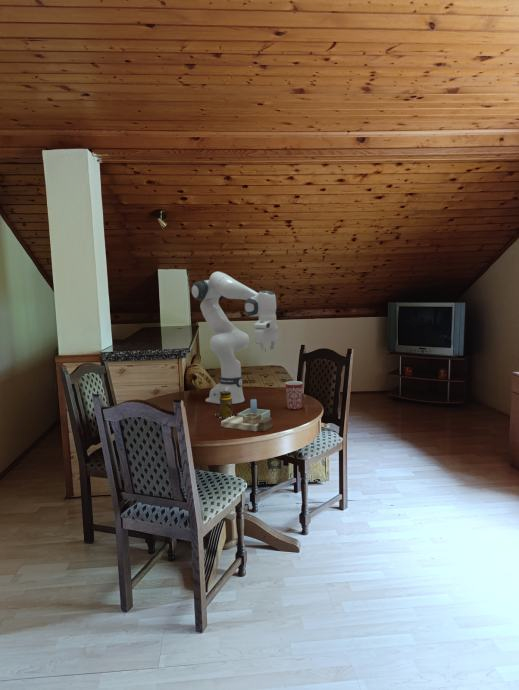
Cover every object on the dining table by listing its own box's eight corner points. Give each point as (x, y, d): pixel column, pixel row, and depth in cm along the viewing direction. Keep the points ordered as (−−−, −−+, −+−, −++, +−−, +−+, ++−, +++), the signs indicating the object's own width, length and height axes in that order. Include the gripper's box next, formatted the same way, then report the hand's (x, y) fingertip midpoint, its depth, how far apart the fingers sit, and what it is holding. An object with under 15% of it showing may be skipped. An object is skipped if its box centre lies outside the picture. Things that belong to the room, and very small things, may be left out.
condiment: (234, 416, 226) (233, 393, 225) (217, 418, 224) (216, 394, 223) (231, 413, 233) (230, 390, 232) (215, 414, 231) (214, 391, 230)
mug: (303, 410, 235) (303, 384, 233) (285, 410, 236) (285, 384, 234) (302, 404, 248) (302, 379, 246) (285, 404, 248) (285, 379, 246)
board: (221, 426, 210) (220, 415, 209) (232, 421, 219) (231, 409, 218) (256, 431, 201) (255, 419, 201) (266, 425, 210) (265, 413, 210)
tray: (237, 421, 218) (237, 413, 218) (249, 415, 228) (249, 408, 228) (259, 423, 213) (259, 416, 212) (270, 417, 223) (270, 410, 223)
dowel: (249, 418, 220) (249, 400, 219) (252, 417, 222) (252, 398, 221) (255, 419, 218) (254, 400, 217) (258, 417, 221) (257, 399, 220)
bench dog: (258, 430, 202) (258, 422, 202) (266, 425, 209) (266, 417, 209) (264, 431, 201) (264, 422, 200) (272, 426, 208) (272, 418, 207)
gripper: (271, 321, 239) (271, 347, 241) (252, 324, 221) (252, 353, 223) (282, 322, 236) (282, 348, 238) (263, 325, 218) (264, 354, 220)
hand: (267, 350), depth 230 cm, fingers open, 8 cm apart
